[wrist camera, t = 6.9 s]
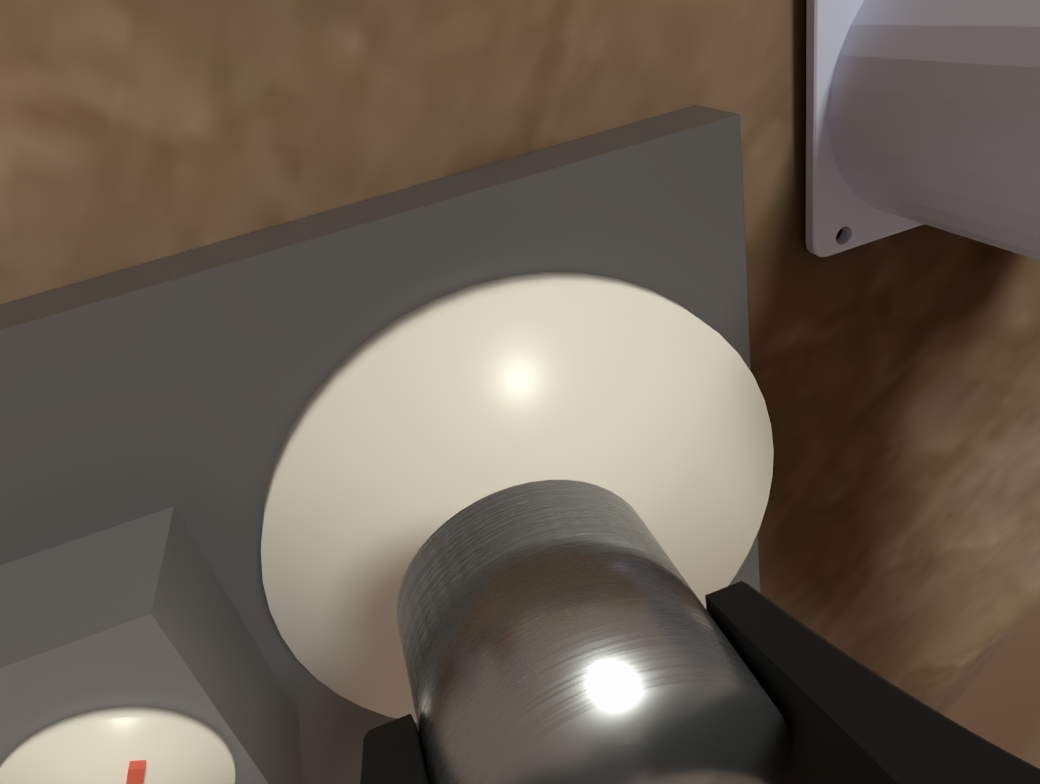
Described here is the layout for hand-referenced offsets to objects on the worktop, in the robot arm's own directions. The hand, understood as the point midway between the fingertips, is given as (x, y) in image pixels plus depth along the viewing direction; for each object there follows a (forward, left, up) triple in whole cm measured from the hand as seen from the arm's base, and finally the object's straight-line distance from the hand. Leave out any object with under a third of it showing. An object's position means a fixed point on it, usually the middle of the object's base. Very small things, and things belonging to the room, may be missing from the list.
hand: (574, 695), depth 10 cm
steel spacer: (0, 0, -2) cm, 2 cm away
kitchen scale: (+2, +4, -10) cm, 11 cm away
